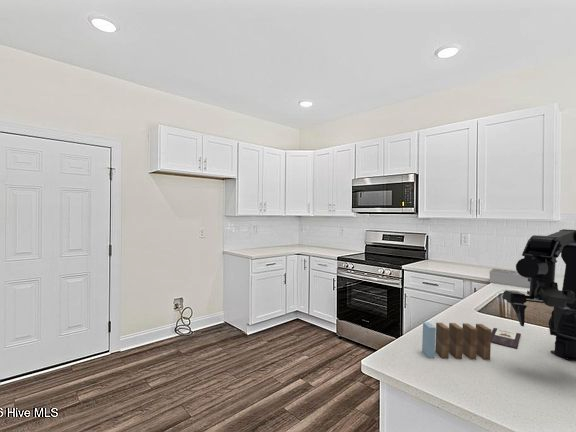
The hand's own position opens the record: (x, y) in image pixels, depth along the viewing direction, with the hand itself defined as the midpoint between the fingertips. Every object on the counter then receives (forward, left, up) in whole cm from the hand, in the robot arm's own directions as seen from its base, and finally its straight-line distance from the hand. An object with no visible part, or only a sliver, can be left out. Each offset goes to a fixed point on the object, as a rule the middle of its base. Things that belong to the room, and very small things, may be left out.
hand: (539, 328), depth 95 cm
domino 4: (+14, -11, -13) cm, 22 cm away
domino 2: (+23, -13, -13) cm, 29 cm away
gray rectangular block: (-102, -109, -14) cm, 150 cm away
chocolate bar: (-11, -24, -14) cm, 30 cm away
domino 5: (+10, -11, -13) cm, 19 cm away
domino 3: (+19, -12, -13) cm, 26 cm away
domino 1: (+27, -14, -13) cm, 33 cm away
